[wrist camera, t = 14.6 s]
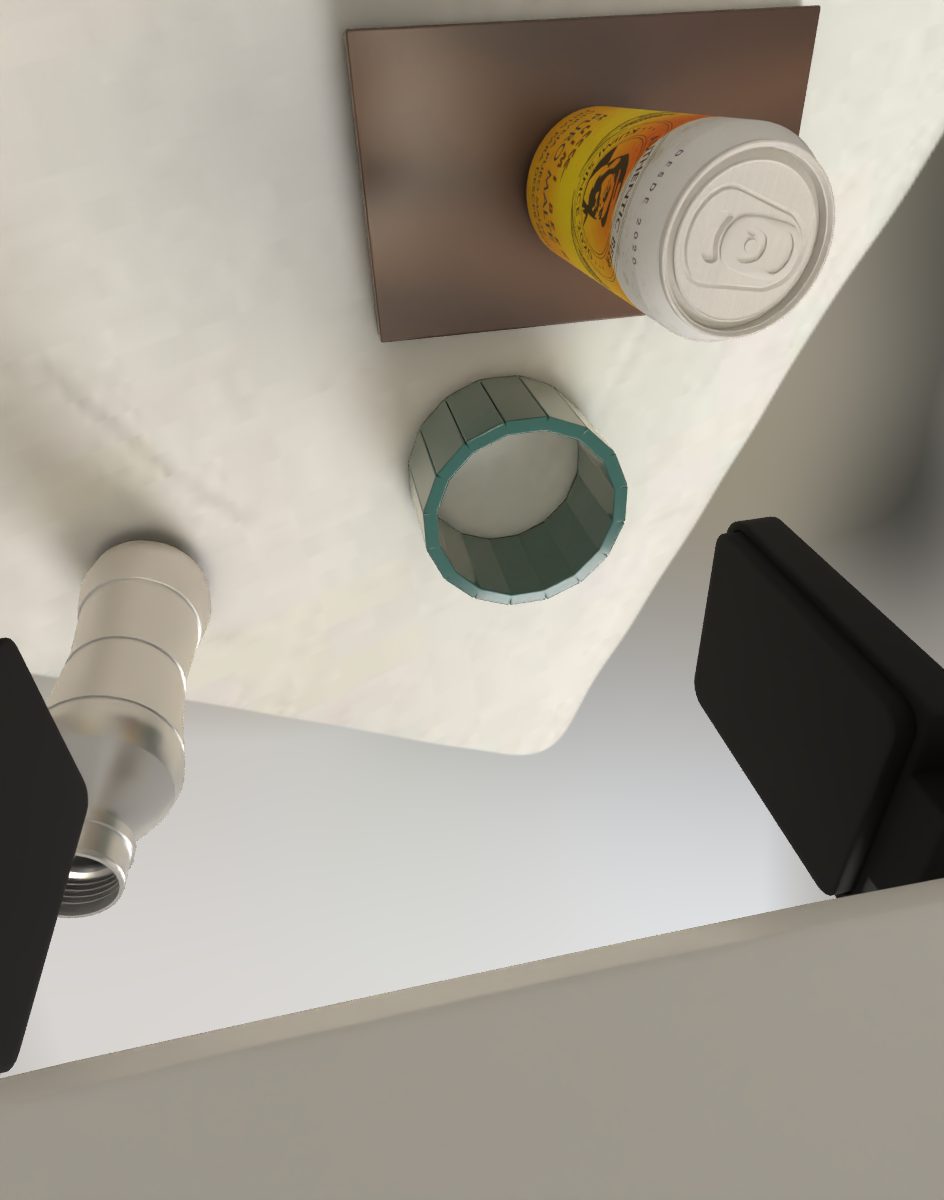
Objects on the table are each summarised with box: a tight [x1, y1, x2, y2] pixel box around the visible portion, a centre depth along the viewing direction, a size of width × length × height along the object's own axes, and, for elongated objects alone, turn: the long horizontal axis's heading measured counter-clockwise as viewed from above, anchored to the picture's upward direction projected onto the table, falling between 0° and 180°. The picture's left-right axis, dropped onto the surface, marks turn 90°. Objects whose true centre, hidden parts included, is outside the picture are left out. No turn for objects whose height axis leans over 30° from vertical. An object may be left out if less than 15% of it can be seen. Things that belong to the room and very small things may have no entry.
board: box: [343, 5, 820, 342], centre depth 35 cm, size 12×20×2 cm, turn 93°
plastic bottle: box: [45, 540, 211, 918], centre depth 34 cm, size 6×7×20 cm
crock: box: [408, 376, 627, 605], centre depth 40 cm, size 10×10×6 cm
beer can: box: [527, 106, 835, 342], centre depth 28 cm, size 6×6×15 cm
